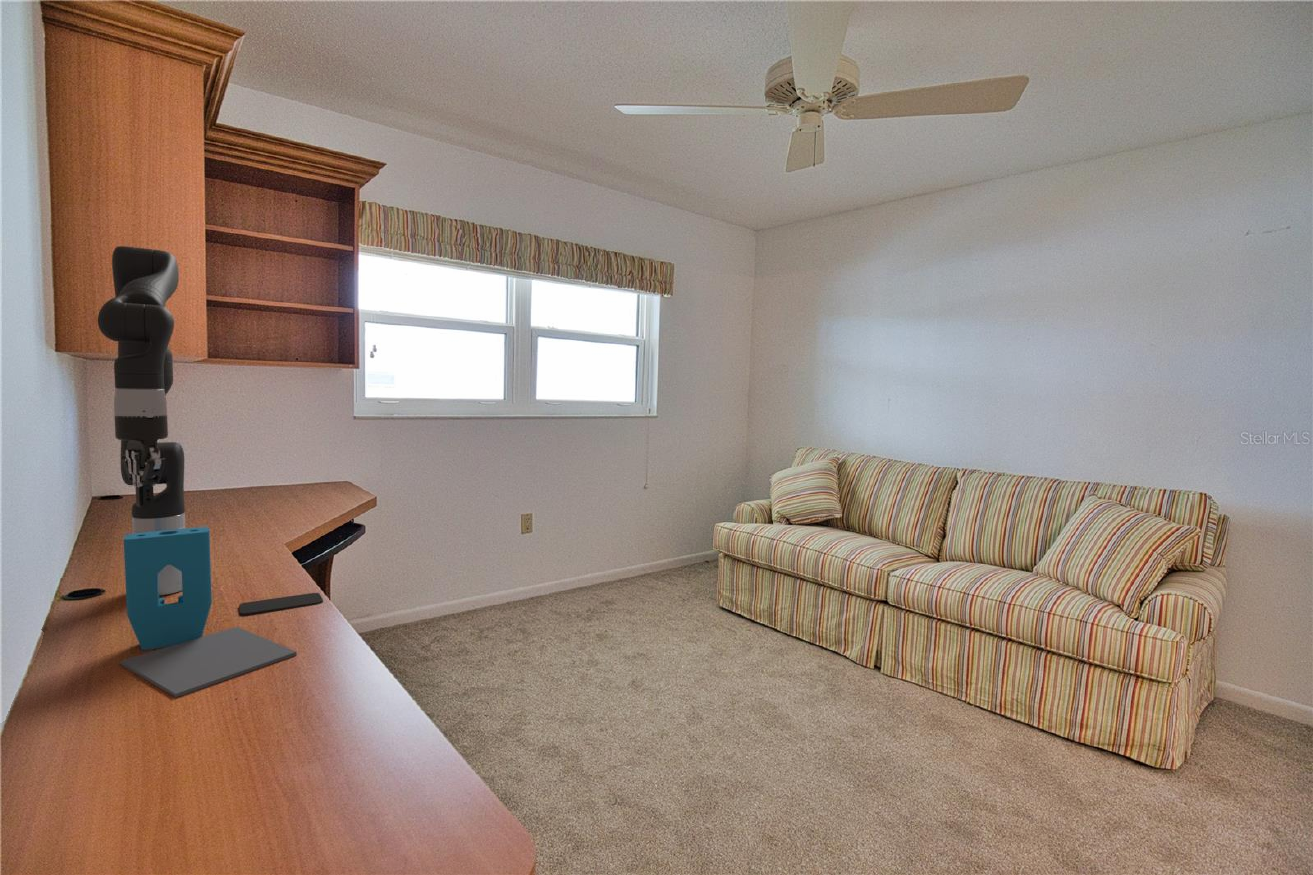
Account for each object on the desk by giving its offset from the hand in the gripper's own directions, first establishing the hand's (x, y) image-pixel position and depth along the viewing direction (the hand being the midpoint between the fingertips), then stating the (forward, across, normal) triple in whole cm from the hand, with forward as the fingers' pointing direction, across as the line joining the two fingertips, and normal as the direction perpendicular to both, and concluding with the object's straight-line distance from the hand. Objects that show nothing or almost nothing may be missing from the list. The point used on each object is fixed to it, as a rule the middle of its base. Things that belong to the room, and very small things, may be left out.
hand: (145, 506), depth 116 cm
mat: (+24, +23, 0) cm, 33 cm away
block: (+24, +9, 0) cm, 26 cm away
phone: (+24, +6, +21) cm, 33 cm away
